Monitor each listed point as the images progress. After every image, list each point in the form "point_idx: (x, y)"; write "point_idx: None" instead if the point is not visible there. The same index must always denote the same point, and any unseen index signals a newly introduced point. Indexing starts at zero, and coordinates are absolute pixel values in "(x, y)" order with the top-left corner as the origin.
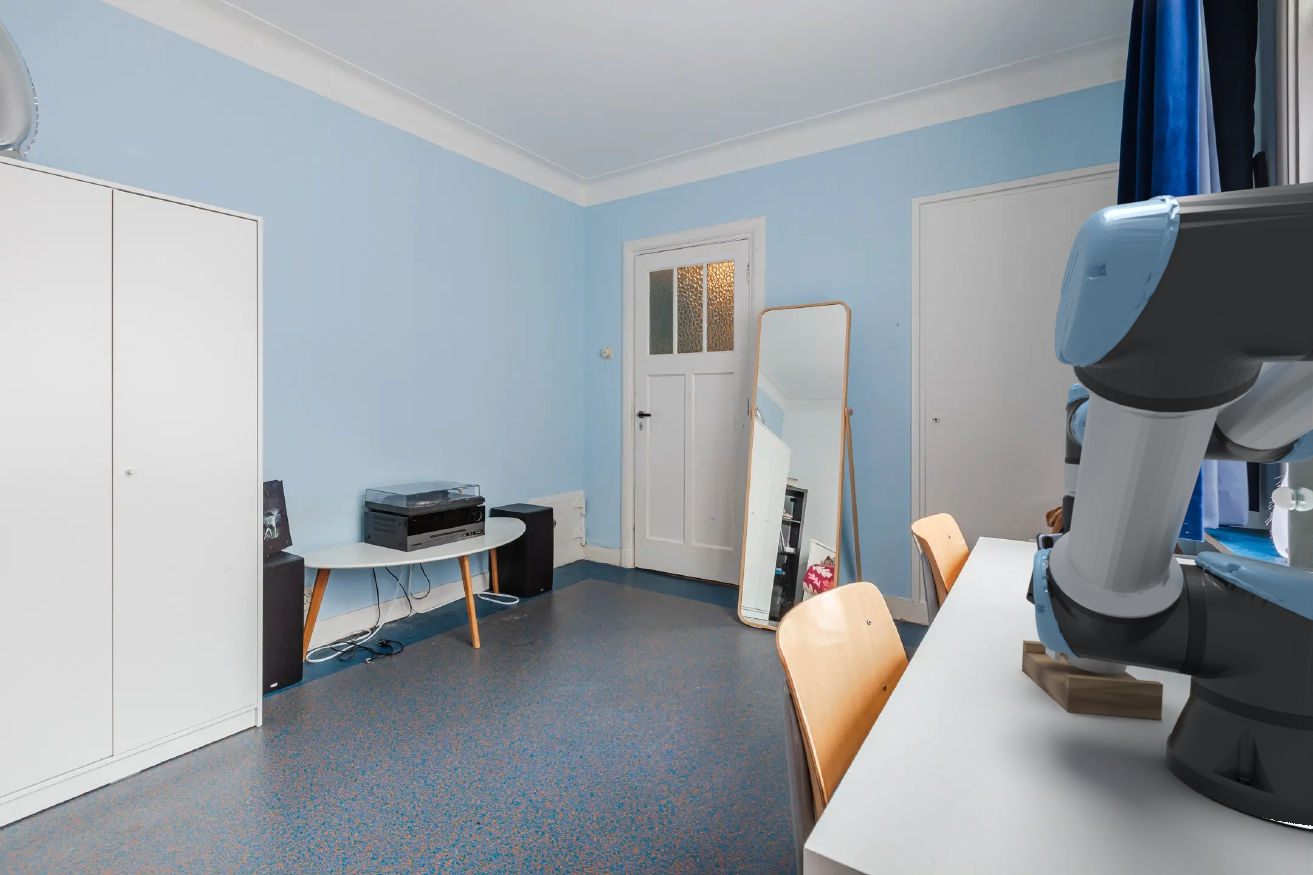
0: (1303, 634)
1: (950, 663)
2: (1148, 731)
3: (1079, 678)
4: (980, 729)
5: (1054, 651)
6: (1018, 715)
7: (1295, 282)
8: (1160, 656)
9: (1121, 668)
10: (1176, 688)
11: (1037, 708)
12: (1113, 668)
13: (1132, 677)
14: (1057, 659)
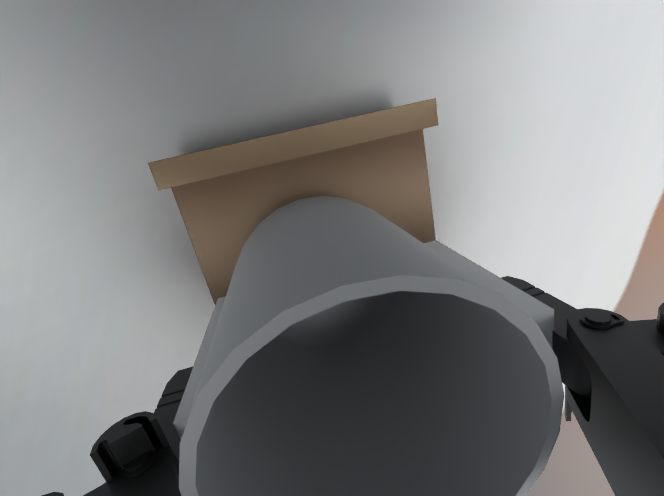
0: None
1: (564, 301)
2: (229, 57)
3: (404, 105)
4: None
5: (449, 248)
6: (514, 30)
7: None
8: None
9: (260, 223)
10: (102, 394)
11: (457, 100)
12: (289, 204)
13: (215, 291)
14: (428, 242)
